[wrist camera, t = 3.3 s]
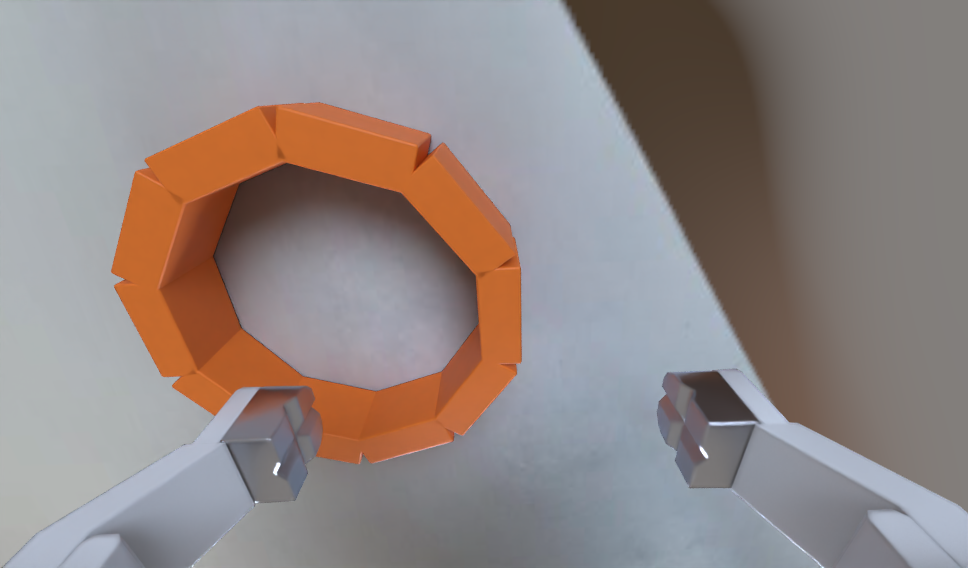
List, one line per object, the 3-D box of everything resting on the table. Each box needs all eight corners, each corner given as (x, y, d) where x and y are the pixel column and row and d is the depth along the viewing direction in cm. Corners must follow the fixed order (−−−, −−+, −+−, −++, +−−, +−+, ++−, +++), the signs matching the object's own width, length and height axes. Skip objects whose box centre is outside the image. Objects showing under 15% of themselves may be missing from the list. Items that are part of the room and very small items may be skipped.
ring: (512, 91, 12) (519, 91, 10) (517, 408, 18) (522, 459, 16) (115, 113, 13) (22, 119, 10) (248, 417, 18) (210, 469, 16)
